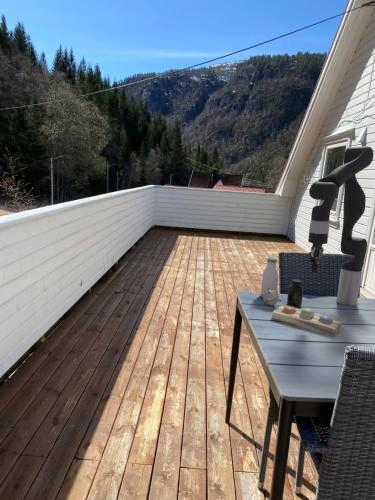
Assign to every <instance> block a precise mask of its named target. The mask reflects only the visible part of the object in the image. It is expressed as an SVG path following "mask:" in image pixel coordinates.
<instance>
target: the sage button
mask: <svg viewBox="0 0 375 500" xmlns="http://www.w3.org/2000/svg"><path fill="white" fill-rule="evenodd" d="M314 313H315V311H314V310H313V309H312V308H309V307H308V308H307V307H303V308H301V311H300V316H301V317H305V318H308V319H312V318H313V317H314Z"/></svg>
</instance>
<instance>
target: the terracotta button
mask: <svg viewBox="0 0 375 500" xmlns="http://www.w3.org/2000/svg"><path fill="white" fill-rule="evenodd" d="M295 308H296V307H294V306H290V305H285V306H284V309H282V312H286V313H290V314H294V313H295V312H296V309H295Z"/></svg>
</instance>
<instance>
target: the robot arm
mask: <svg viewBox="0 0 375 500" xmlns="http://www.w3.org/2000/svg"><path fill="white" fill-rule="evenodd" d="M373 160H374V150H373V148H372V147H370V146H366V145H365V146H364V145H363V146H362V145H361V146H348V147H347V148H346V149H345V151H344V154H343V164H342V165H340V166H338V167H336V168H334V169H333V170H332V171H331V172H330V173H328V175H326V176H324V177H322V178H320V179H318V180H316V181H314V182H313V183H312V184H311V186H310V187H309V191H308V194H309V197H310V198H311V199H313V200H316V201H317V200H320V201H323V202H322V204H320V205H315V206H313V207H312V210H311V215H310V216H311V217H310V223H309V231H308V240H307V241H308V243H311V248H310V252H308V256H309V260H310V263H311V272H312V273H318V271H319V264H320V262H321V261H322V257H323V254H324V251H325V249H324V247H323V245H326V244H328V241H329V234H330V233H329V232H330V217H331V210H332V207H333V205H334V202H335V200H336V198H337V195H338V189H340V188H341V187H342V186H343V185H344V188H343V189H344V190H343V191H344V192H343V207H342V208H343V217H342V219H343V220H342V231H341V236H340V237H341V238H340V252H341V254H343V255H346V256H351V257H353V258H352V259H353V260H350V261H344V262H342V263H341V267H340V275H339V280H338V281H339V282H338V289H337V294H336V302H337V303H338V304H341V305H344V306H350V307H355V306H357V305H358V298H359V291H360V287H361V286H360V285H361V279H362V272H363V268H364V263H365V260H366V254H367V250H368V241H367V239H366V238H364V237H357V236H353V229H354V227H355V225H356V224H357V222H358V221H359V220H360V219H361V218H362V216H363V215H364V213H365V211H366V201H367V198H366V193H365V191H364V189H363V187H362V186H361V185H360V183H359V181H358V178H357V176H356V174H358V173H360V172H361V171H363V170H365V169H366V168H368V167H369V166H370V165H371V164H372V162H373Z"/></svg>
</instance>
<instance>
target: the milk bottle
mask: <svg viewBox="0 0 375 500" xmlns="http://www.w3.org/2000/svg"><path fill="white" fill-rule="evenodd" d="M277 261H278V259H277V258H276V257H268V258H267V262H266V263H267V265H266V266H265V268H264V270H263V272H262V280H261V286H260V287H261V288H260V294H262V295H263V294H264V293H265V292H266V291H267V290H269V289H270V290H273V291H277V290H278V283H279V282H278V281H279V271H278V269H277V263H278V262H277ZM268 288H269V289H268ZM262 295H260V297H262V298H263V296H262Z"/></svg>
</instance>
